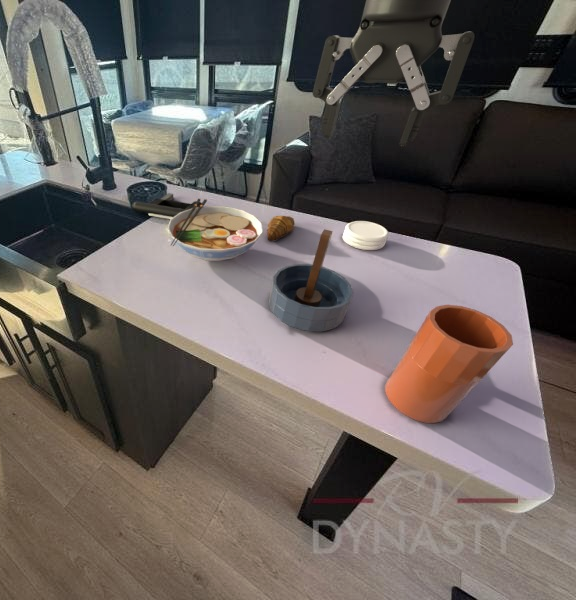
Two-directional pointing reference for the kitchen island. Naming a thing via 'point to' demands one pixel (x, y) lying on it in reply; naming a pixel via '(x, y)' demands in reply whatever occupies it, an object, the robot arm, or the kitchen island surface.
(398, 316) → the kitchen island surface
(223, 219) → the ramen bowl
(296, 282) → the bowl
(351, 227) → the coaster
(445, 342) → the crock
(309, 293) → the brown wooden masher
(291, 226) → the croissant
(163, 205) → the door handle
